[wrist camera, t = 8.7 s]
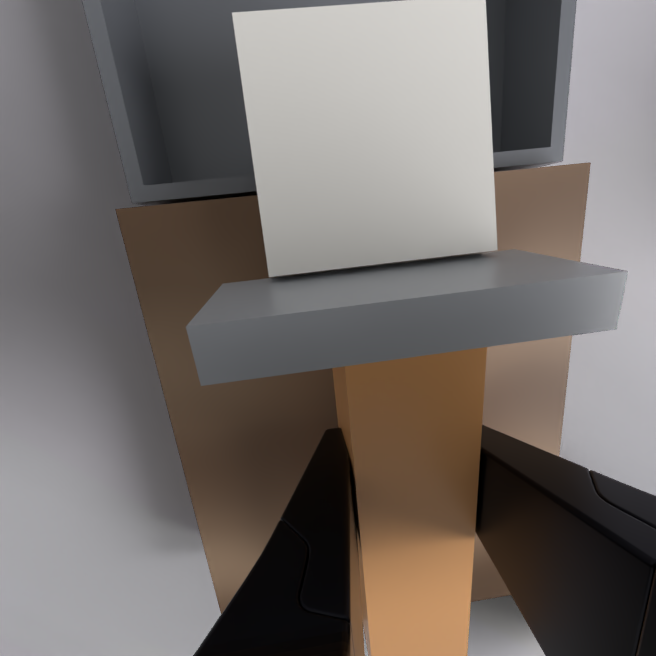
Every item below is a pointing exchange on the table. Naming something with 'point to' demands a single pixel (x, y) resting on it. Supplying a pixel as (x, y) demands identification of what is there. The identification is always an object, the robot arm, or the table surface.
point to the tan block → (316, 386)
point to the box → (228, 101)
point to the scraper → (406, 402)
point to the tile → (369, 132)
